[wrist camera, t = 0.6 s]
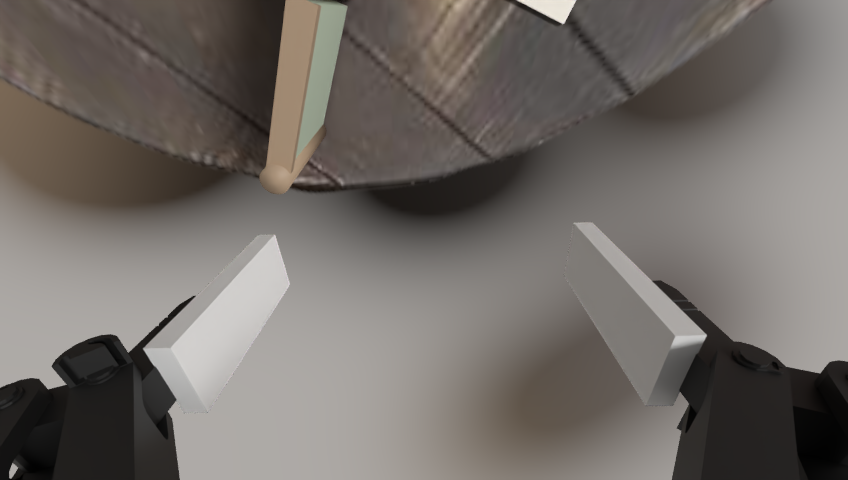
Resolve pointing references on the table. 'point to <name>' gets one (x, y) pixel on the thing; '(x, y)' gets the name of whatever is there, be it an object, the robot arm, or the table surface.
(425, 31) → the table surface
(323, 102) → the fence gate
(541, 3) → the card
